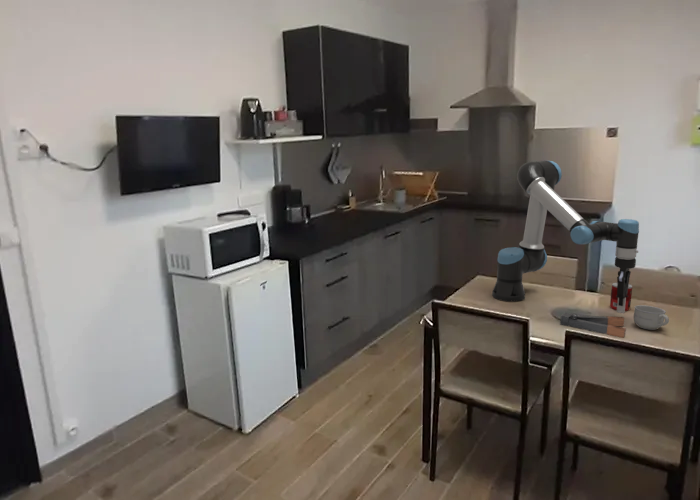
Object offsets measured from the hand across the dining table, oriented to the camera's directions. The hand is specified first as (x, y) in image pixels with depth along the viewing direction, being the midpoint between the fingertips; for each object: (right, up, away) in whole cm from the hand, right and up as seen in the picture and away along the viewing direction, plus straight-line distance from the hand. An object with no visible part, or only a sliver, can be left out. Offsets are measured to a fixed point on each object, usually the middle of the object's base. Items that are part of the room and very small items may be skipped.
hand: (620, 312), depth 212 cm
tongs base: (-16, -6, -9) cm, 19 cm away
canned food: (+7, 0, +14) cm, 16 cm away
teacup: (+7, -6, -10) cm, 13 cm away
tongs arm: (-13, -4, -5) cm, 14 cm away
